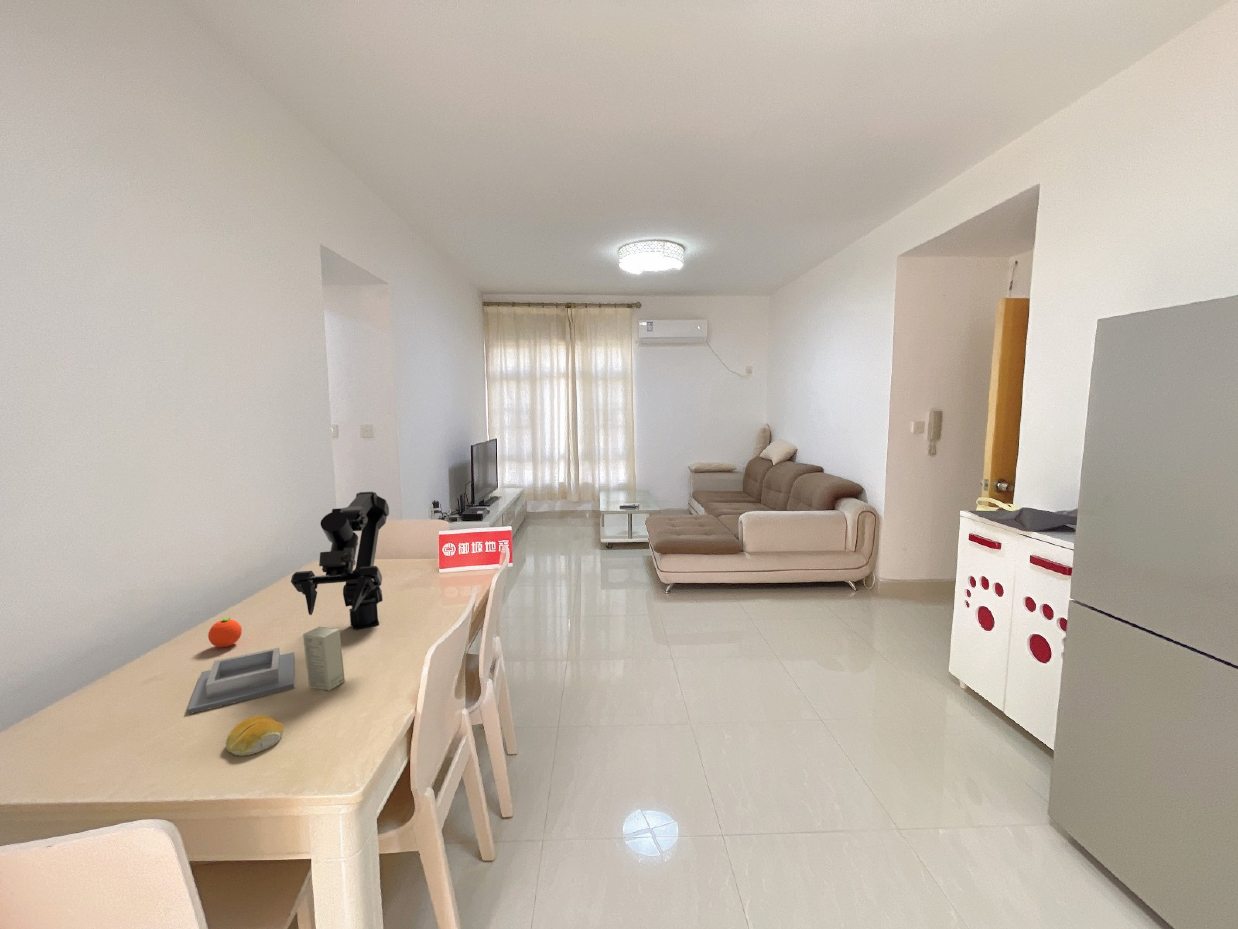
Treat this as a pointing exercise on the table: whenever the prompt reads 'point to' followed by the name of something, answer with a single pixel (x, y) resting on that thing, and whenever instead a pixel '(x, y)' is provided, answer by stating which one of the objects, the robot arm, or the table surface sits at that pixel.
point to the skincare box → (324, 658)
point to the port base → (285, 683)
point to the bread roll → (254, 735)
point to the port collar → (244, 681)
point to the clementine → (225, 633)
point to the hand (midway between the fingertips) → (332, 612)
